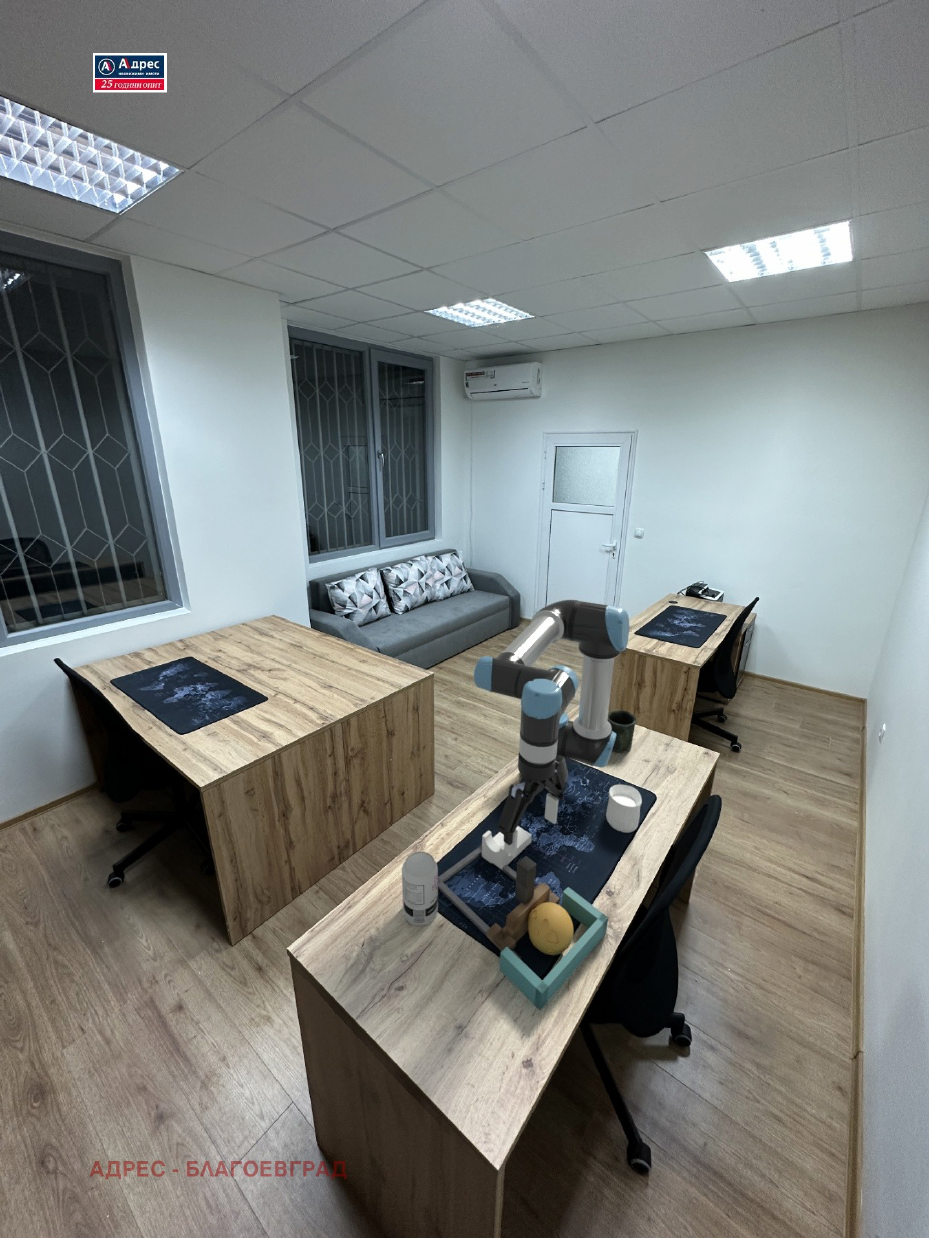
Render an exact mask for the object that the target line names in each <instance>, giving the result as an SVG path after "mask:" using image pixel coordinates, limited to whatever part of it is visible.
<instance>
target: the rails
mask: <svg viewBox="0 0 929 1238" xmlns="http://www.w3.org/2000/svg"><path fill="white" fill-rule="evenodd" d="M479 856H482V844H481V845H480V846H478V847H477V848H476V849H474V850H473V851H472V852H470V853H469V854H468V855H466V856H465V857H464V858H462V859H461V860H459V861H458V862H456V863H455V864H454V865H452V867H450V868H448V869H447V870H445V871H444V872H443V873H442V874H440V875H438V891H440V892H441V893H442V895H444V896H445V897H446V898H447V899H448V900H449V901H450V902H451V903H452V904H453V905H454V906H455V907H456V908H457V909H458V910H459V911H460V912H461V913H462V914H463V915H464V916H465V917H466V918H468V920H469V919H470V920H469V921H470V922H471V923H473V925H474V926H476V927H477V928H478V929H479V930H480V932H482V933H483V934H484V936H486V935H487V930H489V929H490V928H491V926H489V925H488V924H487V923H486V922H484V920H483V919H481V918H480V917H479V916H478V915H477V914H476V913H475V912H474V911H473V909H471V908H470V907H469V906H468V905H467V904H466V903H465V902H464V901H463V900H462V899H461V898H460V897H458V895H456V893H454V892H453V891H452V890H451V889H450V888H449V887H448V886H447V884H445V882H447V881H448V880H449V879H450V878H452V877H453V876H454V875H455V874H457V873H458V872H460V871H461V870H462V869H464V868H465V867H466V866H468V865H469V864H471V863H472V862H473V861H474V860H476V859H477V858H478V857H479ZM496 867H497V868H499V867H498V866H496ZM499 869H500V868H499ZM500 871H502V872H503V873H504V874H506V875H507V876H508V877H509V879H510V878H511V879H512V880H513V881H514V882H515V883H516V874H517V871H515V870H514V869H512V868H511V866H508V865H505V866H504V867H503V869H500ZM512 952H513V953H514V954H515V955H516V956H517V957H518V958H519V959H520V960H521V961H522V957H521V956H520V955H519V954H518V953H517V952H516V951H515V950H514V949H513V950H512Z"/></svg>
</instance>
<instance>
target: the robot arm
mask: <svg viewBox="0 0 929 1238" xmlns="http://www.w3.org/2000/svg"><path fill="white" fill-rule="evenodd" d="M629 635H630V618H629V614H628V612H627V610H626V609H625V608H622V607H618V606H614V605H612V604H602V603H595V602H589V601H588V602H587V601H583V600H582V601H581V600H576V599H564V600H559V601H555V602H553V603H550V604H548V605H546V606H544V607H541V609H540V610H538V611H537V612H535V614H534V615H533V616H532V618H531V620H530V624H529V625H528V626H527V627H526V628H525V629H524V630H523V631H522V632H521V633H520V634H519V635H518V636H517V637H515V639H513V641H512V642H511V643H510V644H509V645H508V646H507V647H506V648H505V649H504V650H503V651H501V653H500V654H499V655H497V657H493V656H487V655H485V656H484V655H483V656H481V657H480V658H479V659H478V660H477V662H476V665H475V667H474V671H473V681H474V684H475V687H476V688H479V689H481V690H484V691H486V692H487V691H488V692H489V693H495V694H498V695H502V696H507V697H510V698H515V699H519V700H520V706H521V707H520V728H519V744H518V745H519V748H518V750H519V751H518V757H517V769H518V771H519V774H520V776H521V777H520V780H519V784H517V785H515V784H513V783H512V784H510V785H509V787H508V793H507V794H508V795H507V797H506V800H505V803H504V806H503V809H502V811H501V813H500V814H501V815H500V816H499V819H498V822H497V825H496V830H497V831H498V833H499V832H501V833H502V834H503V835H504V842H505V844H504V850H505V851H506V852H507V853H509V854H510V855H511V856H512V857H515V856H516V852H517V836H518V831H517V830H516V828H517V826H519V824H520V822H521V819H522V818H523V816H524V814H525V812H526V810H527V807H528V806H529V805H530V804H533V801H534V798H535V796H537V795H538V794H539V793H541V792H543V791H544V790H547V791H548V793H547V794H546V797H545V798H546V799H545V809H544V818H545V819H546V820H547V821H549V822H550V823H552V824H553V825H555V824H556V823H557V821H558V809H559V801H560V800H562V801H563V799H564V798H565V794H563V792H565V791H566V790H567V785H566V783H567V781H568V776H569V775H568V774H569V771H568V767H567V764H566V760H565V758H567V759H570V760H573V761H576V762H579V763H583V764H586V765H589V766H591V767H596V768H600V769H603V768H605V767H607V766H608V763H609V761H610V758H611V755H612V752H613V751H612V749H613V746H614V742H615V739H616V733H614V732H613V731H611V730H612V728H611V724H610V723H609V722H608V721H607V719H608V712H609V711H610V710H609V708H610V701H611V700H610V699H611V692H612V681H613V674H614V673H613V672H614V663H615V659H616V658H618V657H619V656H620V655H621V653H622V652H623V651H625V650H626V649H627V647H628V643H629ZM559 640H567V641H570V642H576V643H578V651H579V653H580V654H582V668H581V680H580V681H581V682H580V683H581V684H580V693H579V706H578V708H579V709H578V716H577V717H575V719H574V720H573V721H572V720H570V719H569V718H570V717H569V715H568V714H567V713H566V712H565V711H566V710H567V708H568V707H569V705H570V704H571V702H572V700H574V698H575V696H576V693H577V690H578V689H579V678H578V675H577V674H576V673H575V671H574V670H573V669H572V668H570V667H569V666H566V665H563V664H559V665H554V666H552V667H551V668H549V669H545V668H539V667H536V666H534V665H535V663H536V662H537V661H538V660H539V659H540V657H541V656H542V655H543V654H544V652H545V651H546V650H547V649H549V647H550V646H551V644H553V643H556V642H558V641H559ZM523 793H524V794H525V795H524V794H523ZM526 795H528V796H526ZM516 857H517V856H516ZM516 857H515V858H516Z"/></svg>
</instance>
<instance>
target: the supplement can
mask: <svg viewBox="0 0 929 1238" xmlns="http://www.w3.org/2000/svg"><path fill="white" fill-rule="evenodd" d="M438 867H439V866H438V863H437V861H436V860H435V858H434V856H433V855H432V854H430V853H429V852H426V851H415V852H412V853H410V854H409V855H408V856H407V857H406V859H405V860H404V862H403V864H402V867H401V884H402V885H401V889H402V891H401V892H402V911H403V917H404V918H405V921H407V922H408V923H410V924H411V925H413V926H417V927H418V926H426V925H428V924H430V923H431V922H432V921H433V920H434V919H435V918H436V916H437V915H438V909H439V889H438V877H439V871H438V870H439V868H438Z"/></svg>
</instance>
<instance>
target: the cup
mask: <svg viewBox="0 0 929 1238" xmlns="http://www.w3.org/2000/svg"><path fill="white" fill-rule="evenodd" d="M642 803H643V800H642V794H641V793H640V792H639V791H638V789H637V788H635V787H634V786H632V785H628V784H627V785H626V784H614V785H612V786H611V787H610V788H609V791H608V803H607V807H606V813H605V816H606V817H605V818H606V821H607V823H609V825H610V826H611V827H612V828H613V829H614V830H616V831H618V832H620V831H621V833H626V834H628V833H632V832H634V831H635V830H637V829H638V826H639V823H640V815H641V811H640V810H641V807H642Z"/></svg>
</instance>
